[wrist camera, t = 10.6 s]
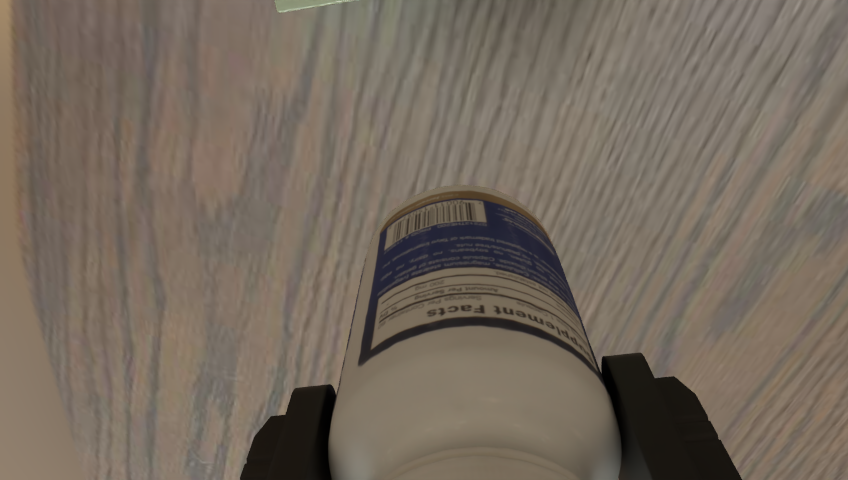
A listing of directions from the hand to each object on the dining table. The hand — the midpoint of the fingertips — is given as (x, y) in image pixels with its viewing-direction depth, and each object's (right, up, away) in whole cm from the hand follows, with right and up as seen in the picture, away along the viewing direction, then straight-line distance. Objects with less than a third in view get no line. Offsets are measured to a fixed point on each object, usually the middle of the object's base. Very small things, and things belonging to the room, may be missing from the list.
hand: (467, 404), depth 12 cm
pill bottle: (0, +3, +5) cm, 6 cm away
